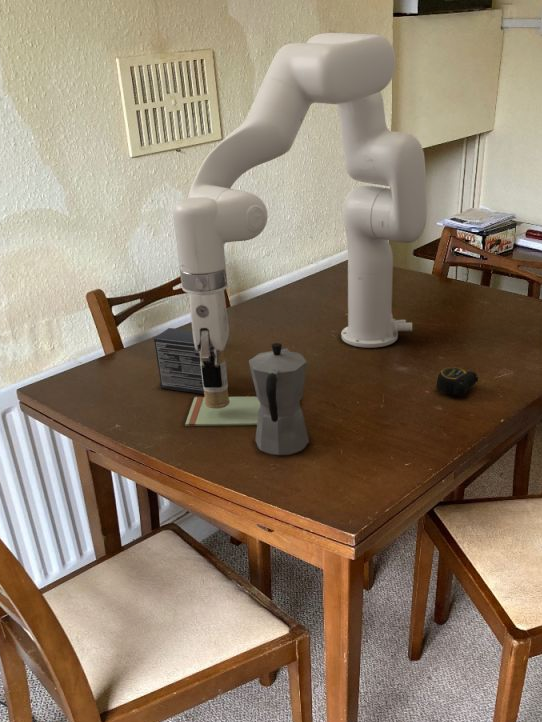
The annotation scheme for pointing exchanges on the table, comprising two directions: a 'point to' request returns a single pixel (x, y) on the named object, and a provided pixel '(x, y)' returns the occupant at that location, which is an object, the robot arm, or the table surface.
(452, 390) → the tape measure
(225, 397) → the sprinkles bottle
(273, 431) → the coffeepot
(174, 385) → the small box
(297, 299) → the table surface
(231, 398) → the notebook
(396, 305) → the table surface
